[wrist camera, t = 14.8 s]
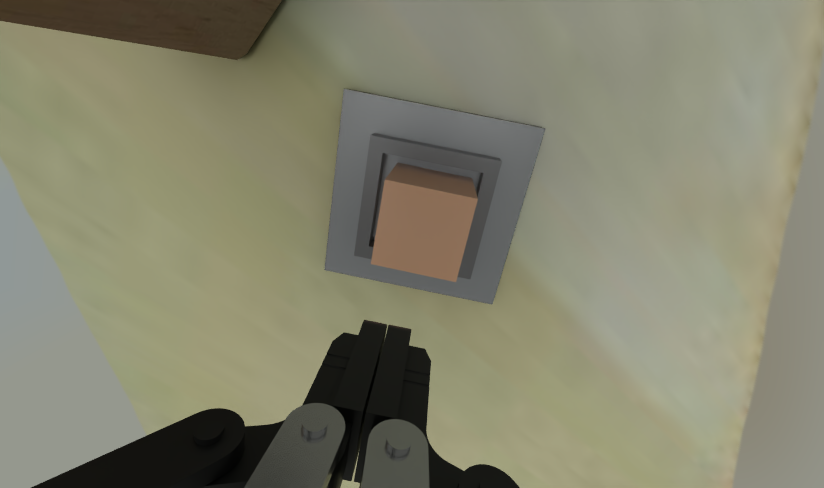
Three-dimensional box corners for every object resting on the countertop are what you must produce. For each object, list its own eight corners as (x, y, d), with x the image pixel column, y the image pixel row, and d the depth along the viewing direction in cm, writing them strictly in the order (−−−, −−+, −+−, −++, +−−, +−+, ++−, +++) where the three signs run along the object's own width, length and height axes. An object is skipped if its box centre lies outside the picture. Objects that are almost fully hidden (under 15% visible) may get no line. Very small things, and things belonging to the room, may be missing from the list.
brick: (397, 162, 28) (384, 179, 22) (472, 178, 28) (478, 199, 22) (385, 232, 30) (370, 264, 24) (454, 247, 30) (455, 282, 24)
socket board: (347, 89, 27) (338, 88, 25) (542, 127, 27) (550, 130, 25) (328, 264, 32) (318, 277, 30) (491, 298, 32) (494, 314, 30)
